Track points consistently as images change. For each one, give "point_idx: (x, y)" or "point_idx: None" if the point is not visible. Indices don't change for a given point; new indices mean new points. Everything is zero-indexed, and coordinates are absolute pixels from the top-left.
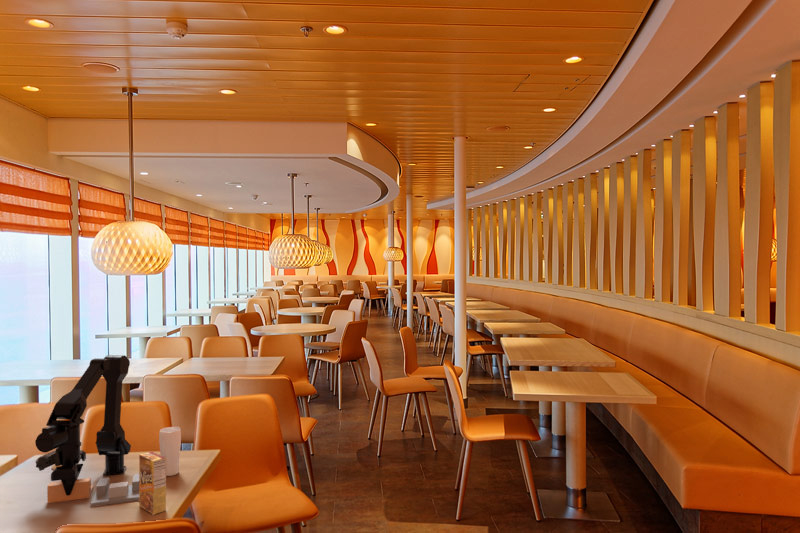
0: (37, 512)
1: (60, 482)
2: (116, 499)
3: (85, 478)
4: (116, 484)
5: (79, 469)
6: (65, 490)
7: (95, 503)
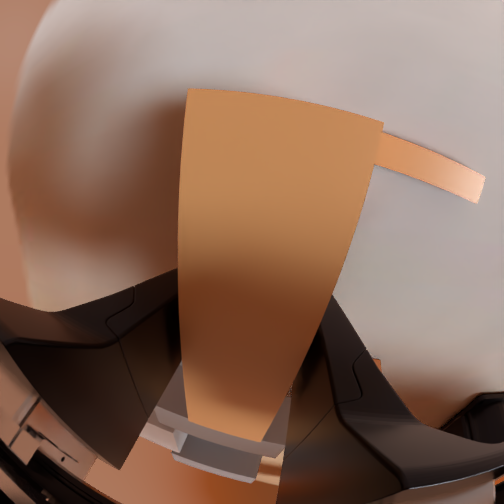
0: (112, 71)
1: (281, 278)
2: None
3: (265, 430)
4: (158, 434)
5: (278, 496)
6: (176, 273)
7: None
